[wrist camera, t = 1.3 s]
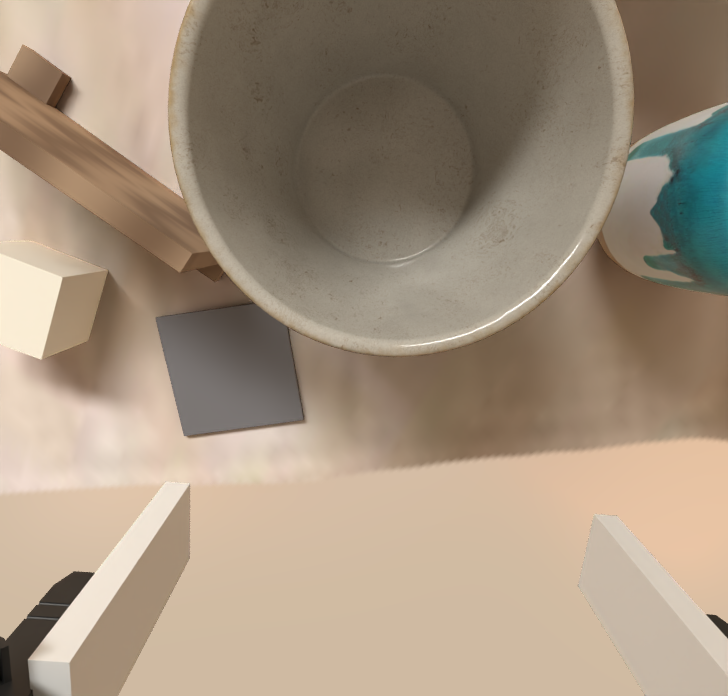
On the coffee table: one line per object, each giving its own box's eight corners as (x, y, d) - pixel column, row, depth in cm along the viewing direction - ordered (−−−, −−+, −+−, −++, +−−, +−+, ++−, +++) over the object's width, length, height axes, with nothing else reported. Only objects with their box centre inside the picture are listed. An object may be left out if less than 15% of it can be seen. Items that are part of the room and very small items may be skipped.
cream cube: (31, 240, 37) (-30, 241, 31) (108, 270, 38) (62, 277, 32) (13, 315, 38) (-49, 330, 33) (88, 343, 39) (40, 363, 33)
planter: (296, 332, 39) (252, 402, 23) (217, 75, 34) (93, -62, 18) (534, 268, 38) (662, 295, 22) (483, -5, 33) (596, -223, 17)
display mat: (157, 317, 38) (155, 318, 38) (282, 299, 38) (281, 300, 38) (185, 434, 41) (184, 436, 40) (303, 418, 40) (303, 419, 40)
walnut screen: (-13, 120, 35) (-224, 57, 22) (25, 44, 34) (-174, -67, 21) (223, 284, 38) (155, 310, 25) (266, 219, 37) (217, 213, 24)
